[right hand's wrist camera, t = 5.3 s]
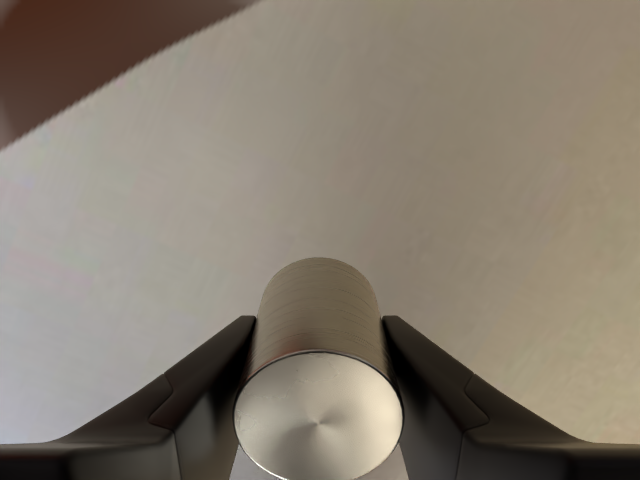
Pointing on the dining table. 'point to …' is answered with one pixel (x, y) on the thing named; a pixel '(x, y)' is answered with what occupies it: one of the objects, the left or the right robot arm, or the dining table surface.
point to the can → (318, 377)
